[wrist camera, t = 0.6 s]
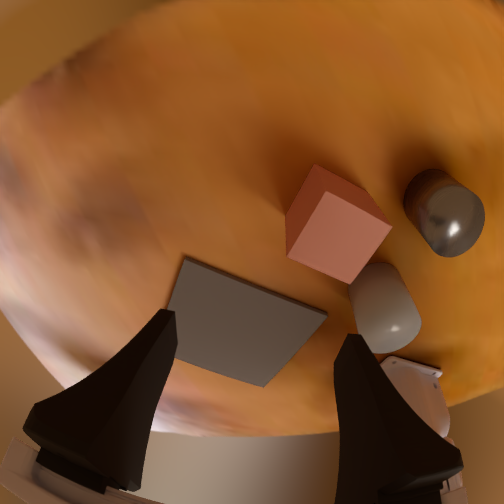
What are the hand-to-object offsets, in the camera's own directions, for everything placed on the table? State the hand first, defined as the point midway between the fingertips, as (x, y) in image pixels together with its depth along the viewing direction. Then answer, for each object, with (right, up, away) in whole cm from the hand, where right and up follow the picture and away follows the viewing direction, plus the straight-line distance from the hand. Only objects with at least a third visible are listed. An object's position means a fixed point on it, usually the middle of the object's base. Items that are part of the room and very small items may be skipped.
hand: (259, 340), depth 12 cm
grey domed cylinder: (+9, +1, +10) cm, 14 cm away
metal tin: (+12, +7, +6) cm, 15 cm away
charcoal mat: (-2, -4, +14) cm, 14 cm away
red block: (+4, +7, +7) cm, 11 cm away
